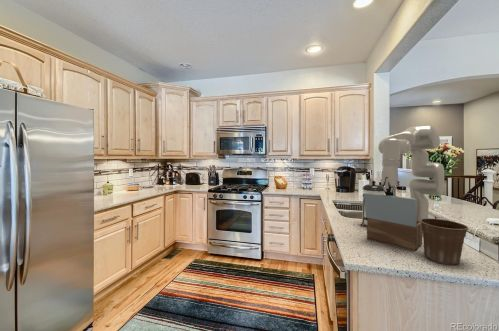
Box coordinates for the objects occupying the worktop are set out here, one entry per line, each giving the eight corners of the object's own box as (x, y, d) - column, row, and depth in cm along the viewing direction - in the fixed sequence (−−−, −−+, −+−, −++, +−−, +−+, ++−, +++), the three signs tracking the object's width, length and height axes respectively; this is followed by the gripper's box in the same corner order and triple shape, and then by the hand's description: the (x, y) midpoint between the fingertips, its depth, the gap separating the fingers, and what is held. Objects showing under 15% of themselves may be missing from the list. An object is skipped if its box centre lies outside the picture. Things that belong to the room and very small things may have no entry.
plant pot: (472, 271, 91) (474, 231, 90) (422, 262, 98) (423, 224, 98) (459, 256, 105) (461, 221, 104) (416, 249, 113) (417, 216, 112)
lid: (364, 192, 123) (363, 193, 123) (415, 198, 106) (415, 199, 106) (366, 216, 126) (365, 217, 125) (416, 226, 109) (416, 227, 108)
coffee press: (354, 222, 158) (355, 179, 157) (378, 223, 158) (379, 179, 157) (366, 230, 141) (367, 182, 140) (392, 231, 140) (394, 182, 139)
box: (376, 233, 135) (377, 213, 135) (422, 244, 119) (423, 221, 119) (366, 239, 126) (367, 217, 126) (414, 251, 110) (415, 226, 109)
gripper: (387, 163, 123) (386, 197, 124) (377, 163, 113) (375, 200, 114) (404, 163, 118) (402, 199, 118) (394, 163, 108) (393, 202, 108)
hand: (389, 199), depth 116 cm, fingers closed
